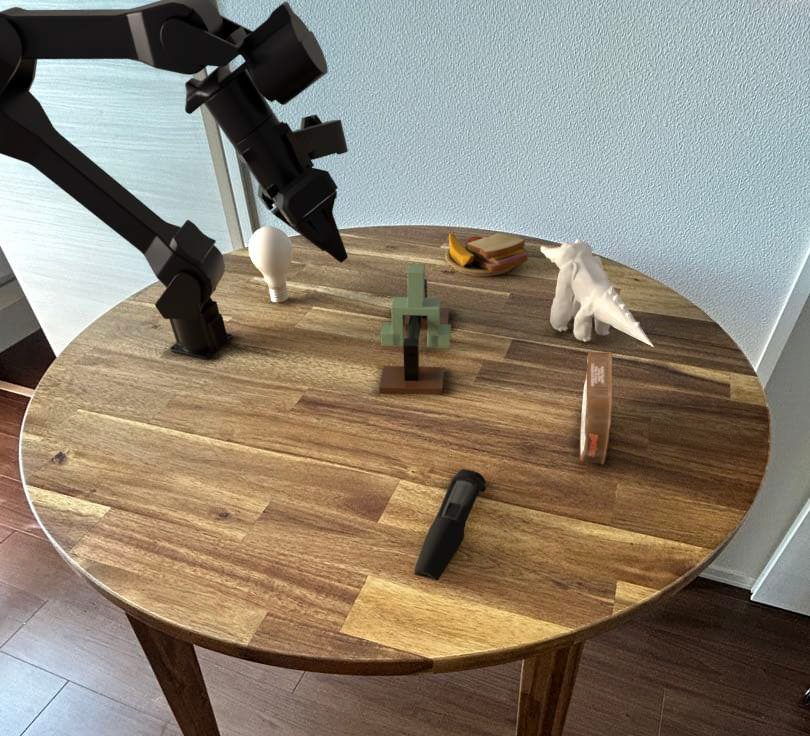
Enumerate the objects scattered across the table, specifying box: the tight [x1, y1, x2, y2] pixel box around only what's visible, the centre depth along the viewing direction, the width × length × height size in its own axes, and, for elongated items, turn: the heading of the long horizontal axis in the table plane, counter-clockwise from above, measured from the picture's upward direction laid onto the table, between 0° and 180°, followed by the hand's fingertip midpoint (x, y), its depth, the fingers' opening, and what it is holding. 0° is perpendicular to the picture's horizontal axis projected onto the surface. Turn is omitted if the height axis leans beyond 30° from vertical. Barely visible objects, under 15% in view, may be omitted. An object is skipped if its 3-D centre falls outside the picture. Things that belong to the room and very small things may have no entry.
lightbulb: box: [248, 225, 294, 304], centre depth 96 cm, size 6×6×11 cm
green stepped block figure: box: [380, 263, 452, 349], centre depth 84 cm, size 9×3×10 cm, turn 85°
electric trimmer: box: [413, 468, 487, 581], centre depth 64 cm, size 4×16×3 cm, turn 159°
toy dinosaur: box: [540, 238, 655, 348], centre depth 86 cm, size 7×24×11 cm, turn 28°
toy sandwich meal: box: [444, 232, 529, 277], centre depth 105 cm, size 12×14×5 cm
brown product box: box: [579, 351, 614, 465], centre depth 72 cm, size 15×3×8 cm, turn 168°
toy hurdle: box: [378, 278, 450, 395], centre depth 87 cm, size 8×21×6 cm, turn 175°
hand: (335, 254), depth 80 cm, fingers open, 9 cm apart
